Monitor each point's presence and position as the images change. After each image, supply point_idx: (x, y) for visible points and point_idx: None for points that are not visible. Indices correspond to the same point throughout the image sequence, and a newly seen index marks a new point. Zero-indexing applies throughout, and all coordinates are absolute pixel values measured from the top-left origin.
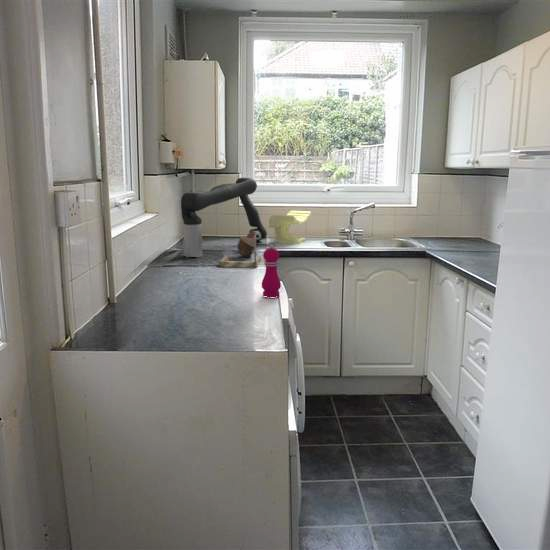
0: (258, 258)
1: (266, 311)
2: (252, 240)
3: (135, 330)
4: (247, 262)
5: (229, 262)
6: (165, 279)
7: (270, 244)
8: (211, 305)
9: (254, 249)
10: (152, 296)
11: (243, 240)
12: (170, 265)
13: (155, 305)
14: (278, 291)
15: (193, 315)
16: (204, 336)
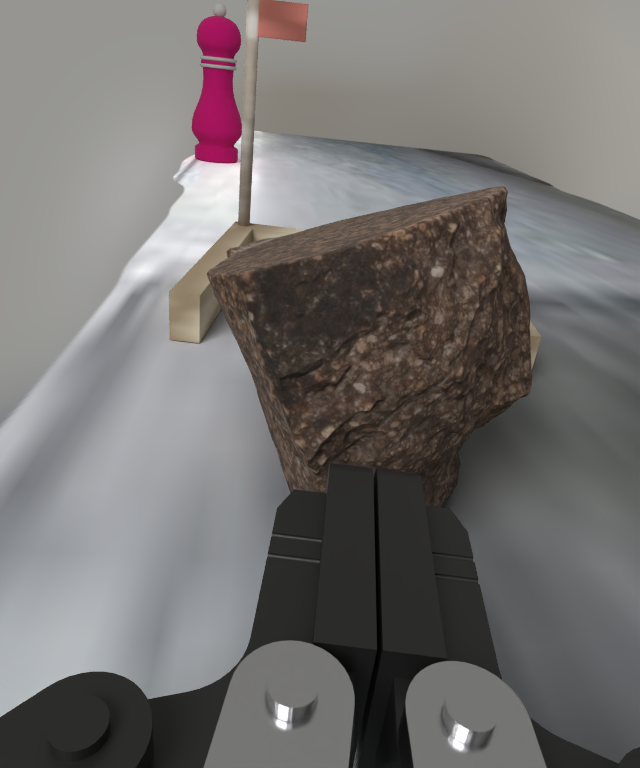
0: (210, 258)
1: (237, 147)
2: (268, 255)
3: (430, 156)
4: (295, 229)
5: None
6: (583, 228)
7: (222, 4)
8: (349, 163)
9: (253, 131)
10: None
11: (415, 204)
12: None
13: (461, 174)
14: (197, 144)
15: (367, 157)
16: (329, 143)
